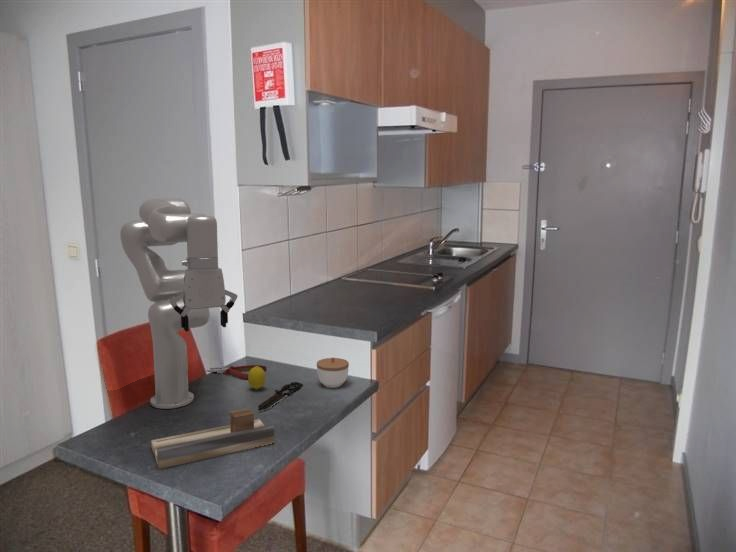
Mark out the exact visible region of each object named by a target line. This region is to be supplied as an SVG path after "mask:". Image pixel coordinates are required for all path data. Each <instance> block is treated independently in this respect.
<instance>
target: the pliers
mask: <svg viewBox="0 0 736 552" xmlns="http://www.w3.org/2000/svg"><path fill="white" fill-rule="evenodd" d="M255 366H258V367H260V368H262V369H263V370H264V372H267V366H266V365H262V364H247V365H238V366H234V365H230V366H229V367H226V366H225V367H220V366H219V367H210V368H209V369H208V370H207V369H206V372H208V373H213V372H216V371H217V373H216V374H218V373H225V374H224V376H225V375H227V376H230V375H232V376H231V377H233V376H234V377H233V378H236V377H237V379H240V380H242V379H243V380H244V381H248V374H249V373H245V372H249V371H250V370H251V369H252V368H254V367H255ZM228 374H229V375H228Z"/></svg>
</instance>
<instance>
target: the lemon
mask: <svg viewBox="0 0 736 552" xmlns="http://www.w3.org/2000/svg"><path fill="white" fill-rule="evenodd" d="M247 374H248V380H247V381H248V384H249V386H250V387H251V388H253V389H255V390H256V391H257V390H259V389H260V388H262V387H263V386H264V385H265V383H266V373H265V371H264V370H263V369H262V368H260V367H258V366H255V367H254V368H252V369H251V370H250V371H248V373H247Z"/></svg>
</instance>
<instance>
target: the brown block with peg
mask: <svg viewBox="0 0 736 552" xmlns="http://www.w3.org/2000/svg"><path fill="white" fill-rule="evenodd" d="M254 415H255V413H254V412H253V411H252V410H251V409H250V407H246V408H241V409H236V410H232V411H231V410H230V411H229V419H230V420H229V422H230V424H229V425H230V431H231V433H232V432H237V431H242V430H247V429H252V428H254V420H255V416H254Z"/></svg>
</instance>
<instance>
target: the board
mask: <svg viewBox="0 0 736 552" xmlns="http://www.w3.org/2000/svg"><path fill="white" fill-rule="evenodd" d="M272 443H274V444H275V426H273V425H272V424H268V425H265V424H264V423H263V422H262V421H261V419H260V418H258V419H257V418H256V419H254V428H252V429H247V430H242V431H237V432H232V433H231V431H230V424H227V425H223V426H217V427H211V428H206V429H201V430H197V431H190V432H186V433H182V434H177V435H171V436H167V437H161V438H156V439H151V442H150V444H151V450H152V453H153V456H154V459H155V461H156V464H157V467H158V469H159V470H161V469H167V468H170V467H175V466H179V465H184V464H188V463H193V462H197V461H201V460H202V461H203V460H207V459H211V458H215V457H219V456H220V457H221V456H225V455H229V454H233V453H238V452H242V451H243V452H244V451H248V450H252V449H256V448H255V447H257V448H260V447H259V446H261V447H265V446H264V445H266V446H268V444H270V445H273V444H272ZM247 449H248V450H247Z"/></svg>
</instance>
